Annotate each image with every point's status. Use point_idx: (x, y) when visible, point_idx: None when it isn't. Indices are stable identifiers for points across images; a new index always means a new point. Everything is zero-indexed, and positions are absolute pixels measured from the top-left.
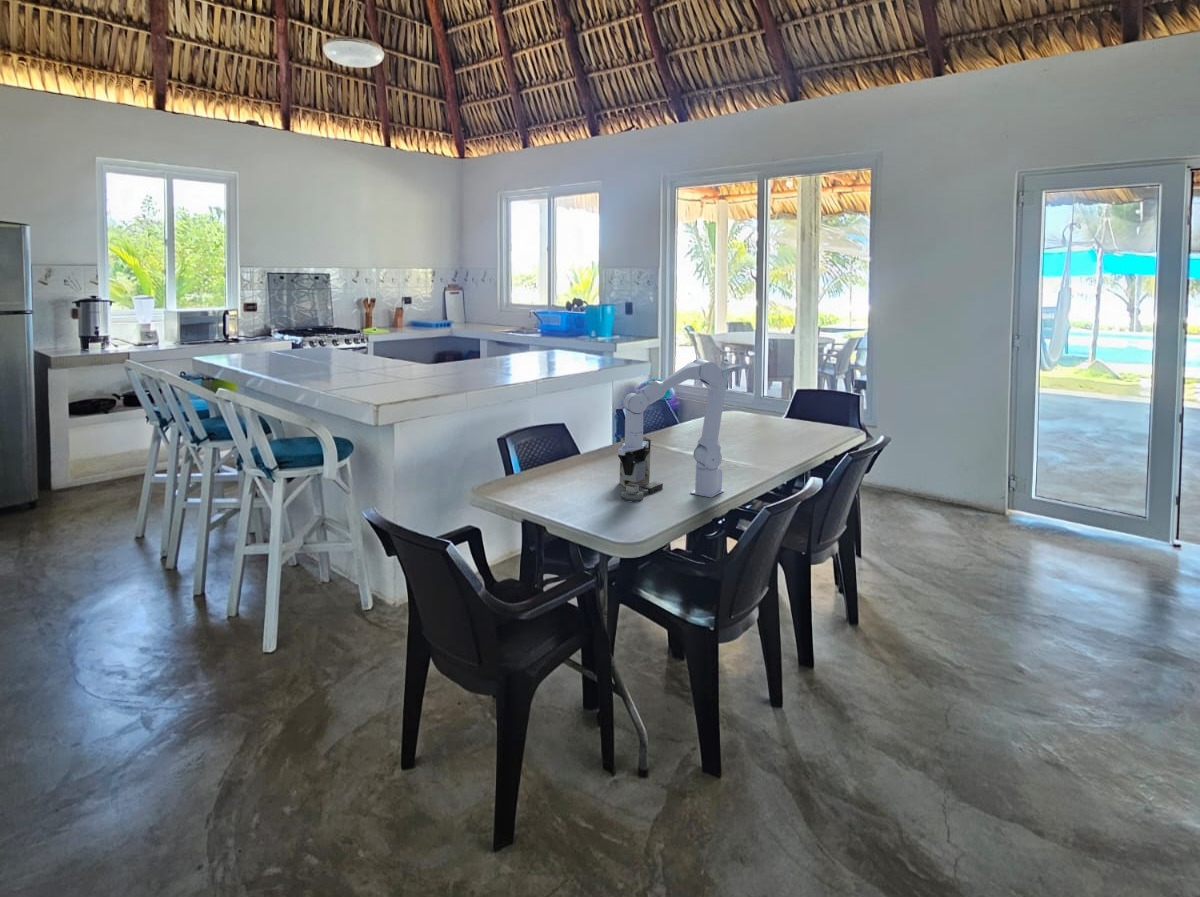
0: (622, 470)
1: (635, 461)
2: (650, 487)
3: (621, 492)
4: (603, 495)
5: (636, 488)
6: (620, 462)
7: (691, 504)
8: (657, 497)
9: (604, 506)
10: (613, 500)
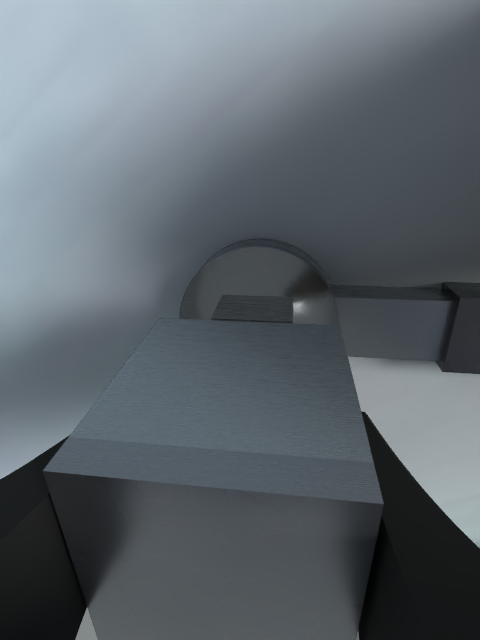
0: (121, 377)
1: (192, 613)
2: (469, 364)
3: (216, 259)
4: (197, 83)
5: None
6: None
7: None
8: (377, 415)
9: (18, 261)
10: (148, 233)
